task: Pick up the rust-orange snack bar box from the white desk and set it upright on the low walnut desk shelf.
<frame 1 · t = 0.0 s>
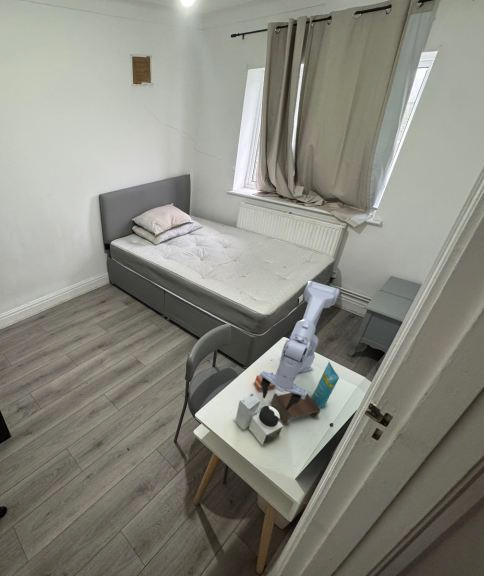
hand: (275, 402, 103), 11 cm above the table, tool pointing down, fingers open, 7 cm apart
cosmetic box: (244, 421, 109), on the table
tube: (317, 402, 114), on the table
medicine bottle: (263, 433, 105), on the table
snack box: (264, 385, 121), on the table
shelf: (293, 410, 112), on the table
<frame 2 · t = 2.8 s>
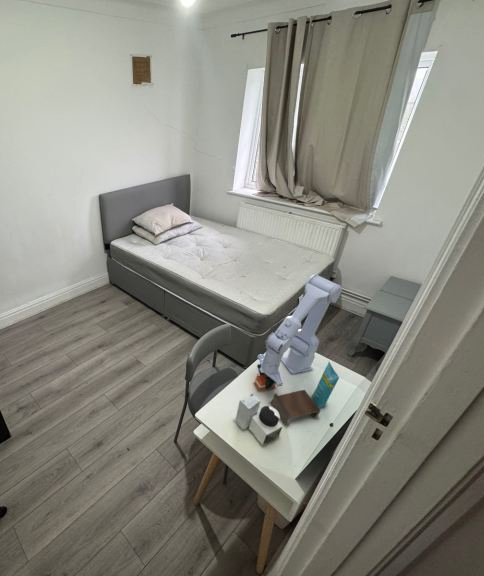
hand: (265, 383, 120), 1 cm above the table, tool pointing down, fingers closed on snack box, 4 cm apart
snack box: (264, 385, 121), on the table, touching gripper
everything else where it was.
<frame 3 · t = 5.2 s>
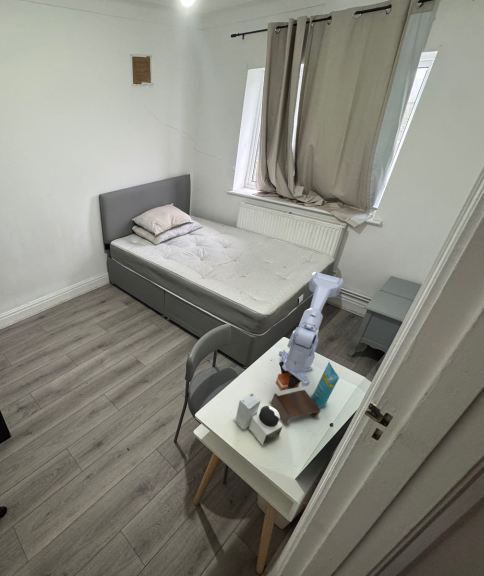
hand: (287, 382, 110), 10 cm above the table, tool pointing down, fingers closed on snack box, 4 cm apart
snack box: (286, 385, 110), point 9 cm above the table, touching gripper
everything else where it was.
when the fingers open (6 cm above the table, at t = 7.5 s): snack box stays where it is, resting on shelf.
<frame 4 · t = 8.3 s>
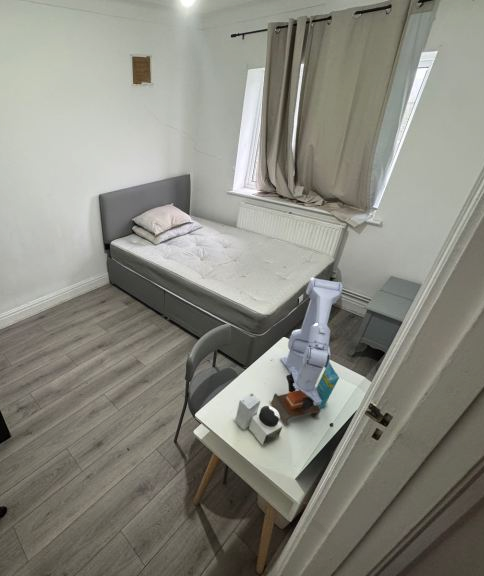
hand: (297, 399, 108), 6 cm above the table, tool pointing down, fingers open, 7 cm apart
snack box: (296, 403, 109), point 4 cm above the table, touching shelf
everything else where it was.
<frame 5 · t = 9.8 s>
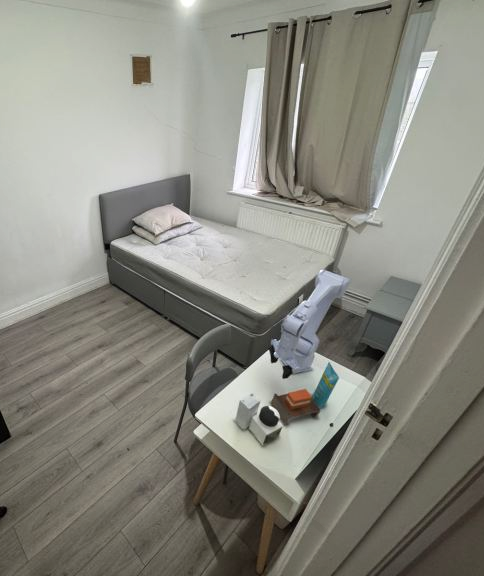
hand: (279, 369, 115), 10 cm above the table, tool pointing down, fingers open, 7 cm apart
nothing on the table moved.
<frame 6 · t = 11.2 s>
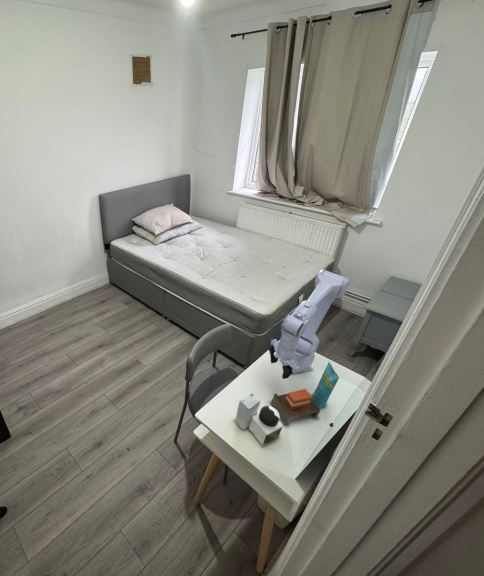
hand: (279, 369, 115), 10 cm above the table, tool pointing down, fingers open, 7 cm apart
nothing on the table moved.
at the end: snack box inside the target area on the shelf (0.0 cm from its centre), point 4.5 cm above the shelf's base; snack box tilted 0°; the gripper is holding nothing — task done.
